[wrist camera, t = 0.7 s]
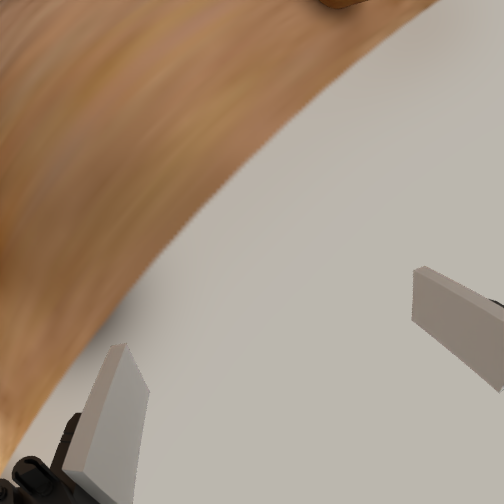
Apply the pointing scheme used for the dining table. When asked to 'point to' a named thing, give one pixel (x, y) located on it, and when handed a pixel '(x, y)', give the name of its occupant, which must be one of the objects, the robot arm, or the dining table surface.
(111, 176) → the dining table surface
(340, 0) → the disposable coffee cup
